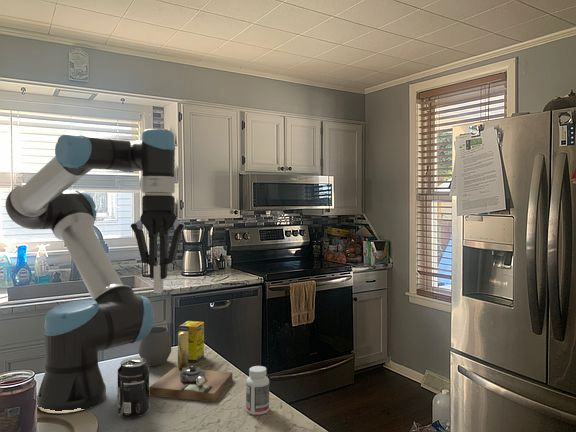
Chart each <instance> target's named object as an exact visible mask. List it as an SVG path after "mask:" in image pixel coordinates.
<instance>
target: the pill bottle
mask: <svg viewBox="0 0 576 432" xmlns="http://www.w3.org/2000/svg"><path fill="white" fill-rule="evenodd" d="M267 374H268V373H267V367H266V366H262V365H255V366H254V365H253V366H251V367H250V368H249V369H248V375H249V376H248V377H247V378H246V380H245V381H246V382H245V408H246V409H245V410H246V412H247V413H249V414H250V415H253V416H254V415H256V416H259V415H265V414H266V413H268V412H269V409H270V378H268V376H267Z"/></svg>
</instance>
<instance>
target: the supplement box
mask: <svg viewBox="0 0 576 432" xmlns="http://www.w3.org/2000/svg"><path fill="white" fill-rule="evenodd" d="M181 331H187V332H188V363H198V361H200V360H201V359H202V358H204V356H205V322H204V321H193V320H187V321H185V322H183V323H182V324H180V325H179V326H178V332H181Z"/></svg>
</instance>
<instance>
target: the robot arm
mask: <svg viewBox="0 0 576 432" xmlns="http://www.w3.org/2000/svg"><path fill="white" fill-rule="evenodd" d="M174 135H175V134H174V133H173V132H172V130H168V129H162V128H147V129H144V130H143V131H142V133H141V138H140V139H141V140H126V139H117V138H109V137H101V136H92V135H85V134H81V133H64V134H62V135H60V136H59V137H58V139H57V142H56V144H55V148H54V149H55V150H54V152H55V153H54V155H55V156H54V157H52V158H51V159H50V161H48V162H47V163H46V164H45V165H44V166H43V167H42V168H41V169H40V170H39V171H38V172H36V173H35V174H34V175H33V176H32V177H31V178H30V179H29V180H27V182H26V183H25V182H24V183H20V184H18V185H16V186H15V187H14V188H13V189H12V190H11V191H10V192H9V194H7V197H6V199H5V210H6V213H7V216H9V218H10V220H11V221H13V222H14V224H16V225H18V226H20V227H22V228H25V229H28V230H51V231H52V233H53V235H54V237H55V238H56V239H58V240H60V241H63V242H64V244H65V246H66V248H67V250H68V253H69V254H70V257H71V259H72V261H73V262H74V264H75V267H76V269H77V272H78V273H79V275H80V277H81V279H82V281H83V283H84V285H85V287H86V288H87V291H88V293H89V295H90V297H91V299H88V298H87V299H79V300H71V301H68V302H64V303H61V304H58V305H56V306H54V307H52V308H51V309H50V310H49V311H48V312H47V313H46V315H45V317H44V319H45V320H44V327H43V334H44V368H45V369H44V375H43V378H42V380H41V383H40V386H39V389H38V393H37V396H36V406H37V405H38V407H42V408H44V409H50V410H55V411H62V410H74V409H77V408H81V409H85V410H84V411H86V410H89V409H91V408H93V407H96V406H98V405H100V404H101V403H102V402H103V401H104V400H105V399H106V397H107V386H106V384H105V381H104V379H103V375H102V372H101V369H100V366H99V352H102V351H105V350H110V349H113V348H118V347H121V346H125V345H128V344H134V343H136V342H138V341H139V342H140V340H142V339H144V338H145V337H147V336H148V334H149V333H150V331H151V329H152V327H154V317H155V316H154V309H153V306H152V302H151V301H150V299H149V298H148V297H146V296H144V295H138V296H137V295H136V293H135V291H134V290H133V288H132V287H131V286H130V285H127V284H126V285H125V284H123V281H122V280H121V278H120V276H119V275H118V272H117V271H116V269H115V267H114V266H113V263H112V262H111V260H110V258H109V256H108V254H107V252H106V250H105V248H104V247H103V244H102V243H101V241H100V239H99V237H98V235H97V234H96V232H95V230H94V228H93V227H94V225H95V222H96V220H97V209H96V207H97V205H96V203H95V201H94V199H93V197H92V196H91V195H90V194H89V193H87V192H86V191H83V190H76V189H69V188H71V186H72V185H74V184H75V183H77V182H78V181H79V180H80V179H81V178H83V177H84V176H85V175H87V173H90V171H91V170H111V171H119V172H123V173H134V172H140V171H141V174H142V175H141V178H142V179H141V186H142V187H141V191H142V194H144V195H143V196H142V197H141V211H142V212H141V215H140V218H139V220H137V221H136V222H135V223H131V224H130V228H131V229H132V231H133V232H134V236H135V239H136V244H137V248H138V251H139V252H138V253H139V255H140V260H141V262H142V263H143V264H146V265H148V266H149V278H150V279H152V280H153V294H161V293H163V292H164V280H166V279H167V277H168V265H169V264H172V263H174V262H175V261H176V258H177V253H178V249H179V247H180V245H179V244H180V240H181V237H182V233H183V232H184V230H185V229H186V223H182V222H181V221H180V220H178V218H177V216H176V213H175V208H176V207H175V206H176V204H175V202H176V201H175V197H174V195H173V194H175V185H176V184H175V170H176V169H175V167H176V166H175V165H176V163H175V161H176V159H175V158H176V157H175V156H176V154H175V153H176V145H175V136H174ZM172 227H173V229H174V232H173V234H172V240H171V244H170V247H169V245H168V244H169V242H168V241H169V240H168V239H169V232H170V230H171V229H172ZM144 228H145V229H146V230H147V231H148V233H147V234H148V235H147V236H148V246H147V242H146V237H145V232H144V230H143V229H144ZM158 238H159V261H158ZM168 248H170V249H169V250H168ZM158 263H159V264H158Z"/></svg>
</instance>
